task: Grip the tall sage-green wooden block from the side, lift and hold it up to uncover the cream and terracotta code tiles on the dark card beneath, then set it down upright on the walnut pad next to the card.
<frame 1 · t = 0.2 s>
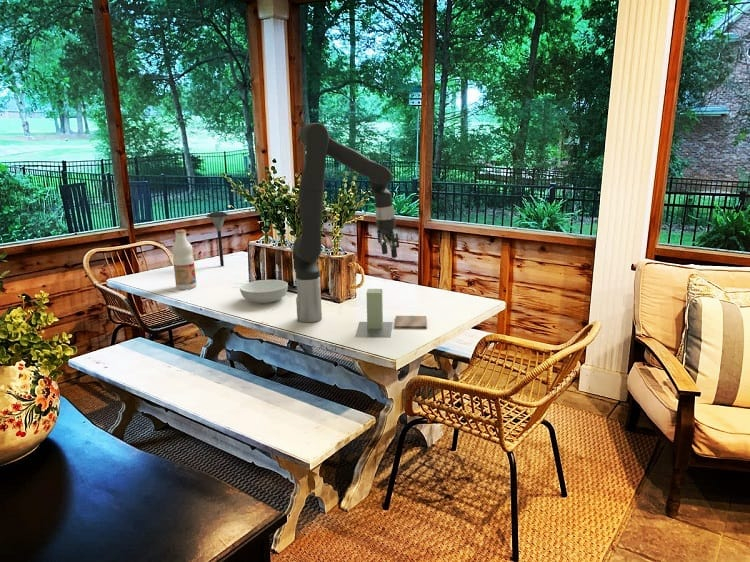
hand: (389, 255, 234), 22 cm above the table, tool pointing down, fingers open, 8 cm apart
fruit juice: (186, 287, 274), on the table
serving bowl: (265, 300, 252), on the table
walnut pad: (410, 323, 219), on the table
sage block: (375, 326, 216), resting on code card
solar garden light: (222, 266, 315), on the table
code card: (374, 329, 213), on the table
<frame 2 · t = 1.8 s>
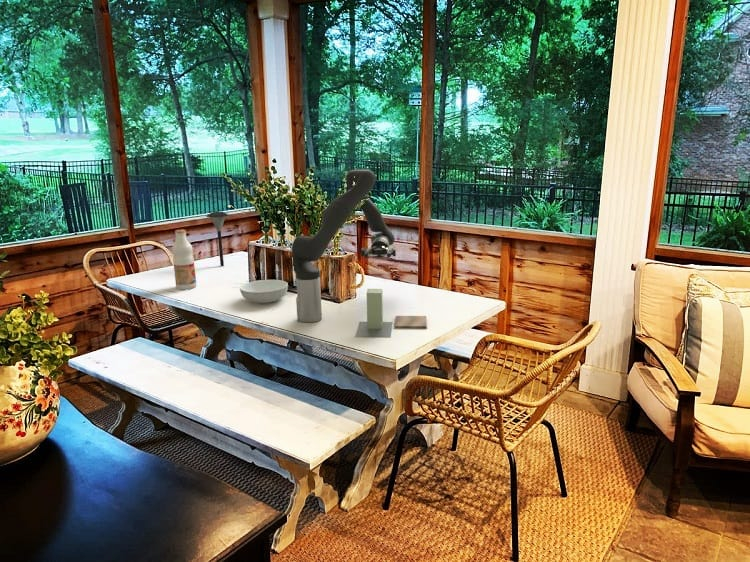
hand: (377, 255, 227), 24 cm above the table, tool horizontal, fingers open, 8 cm apart
nothing on the table moved.
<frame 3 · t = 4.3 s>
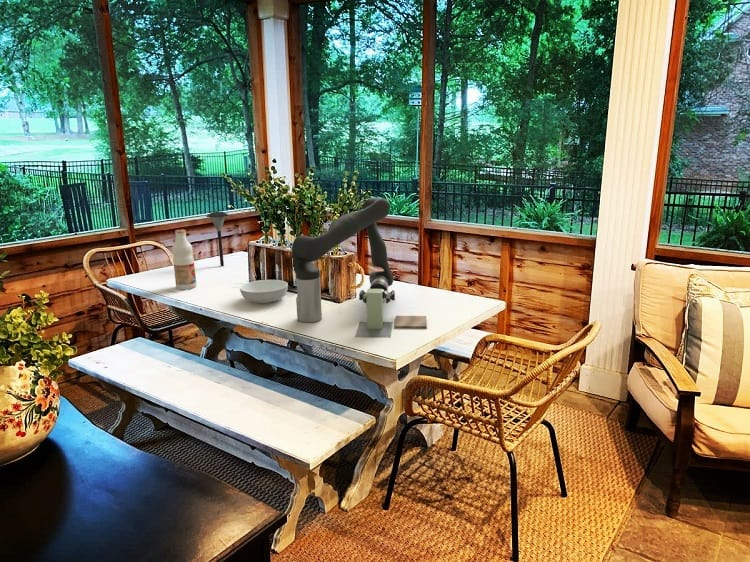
hand: (376, 300, 221), 8 cm above the table, tool horizontal, fingers open, 8 cm apart
nothing on the table moved.
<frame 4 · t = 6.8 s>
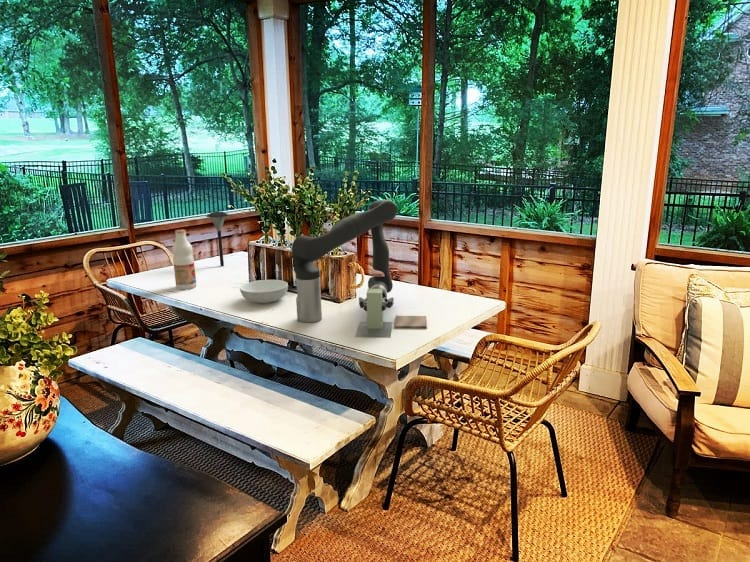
hand: (374, 308, 211), 8 cm above the table, tool horizontal, fingers closed on sage block, 5 cm apart
sage block: (375, 326, 216), resting on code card, touching gripper
everything else where it was.
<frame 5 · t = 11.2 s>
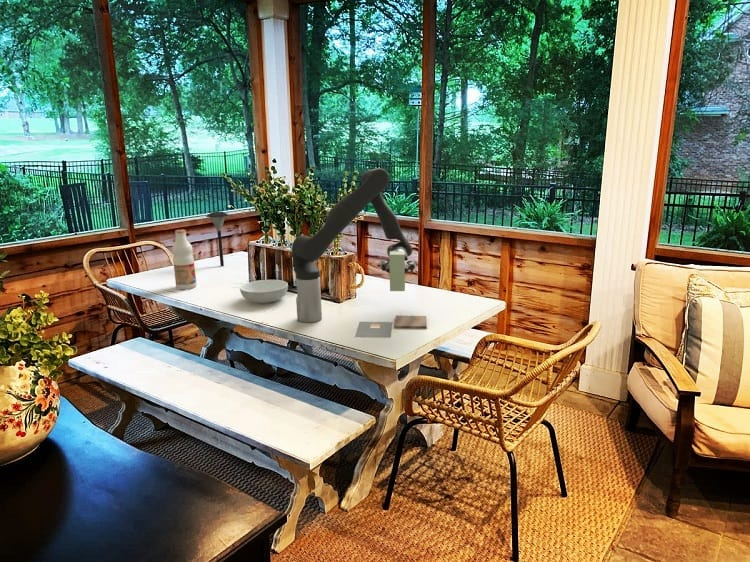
hand: (397, 270, 210), 22 cm above the table, tool horizontal, fingers closed on sage block, 5 cm apart
sage block: (397, 289, 214), point 14 cm above the table, touching gripper
everything else where it was.
when the fingers open (10 cm above the table, at t = 15.4 s): sage block drops 1 cm, resting on walnut pad.
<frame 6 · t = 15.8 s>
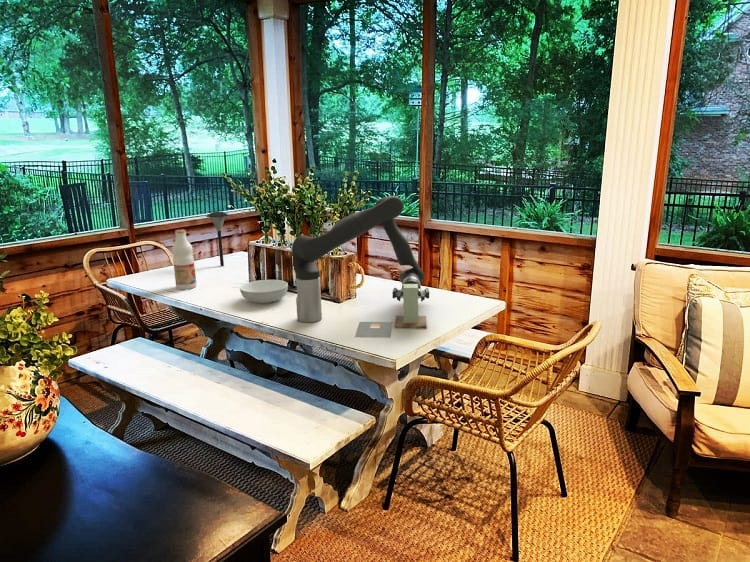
hand: (410, 298, 214), 11 cm above the table, tool horizontal, fingers open, 8 cm apart
sage block: (410, 320, 218), point 1 cm above the table, touching walnut pad
everything else where it was.
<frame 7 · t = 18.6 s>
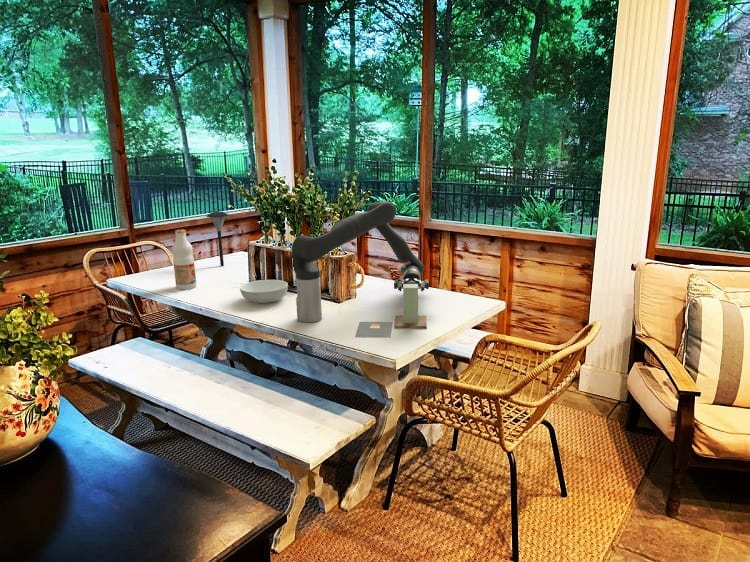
hand: (411, 289, 227), 11 cm above the table, tool horizontal, fingers open, 8 cm apart
nothing on the table moved.
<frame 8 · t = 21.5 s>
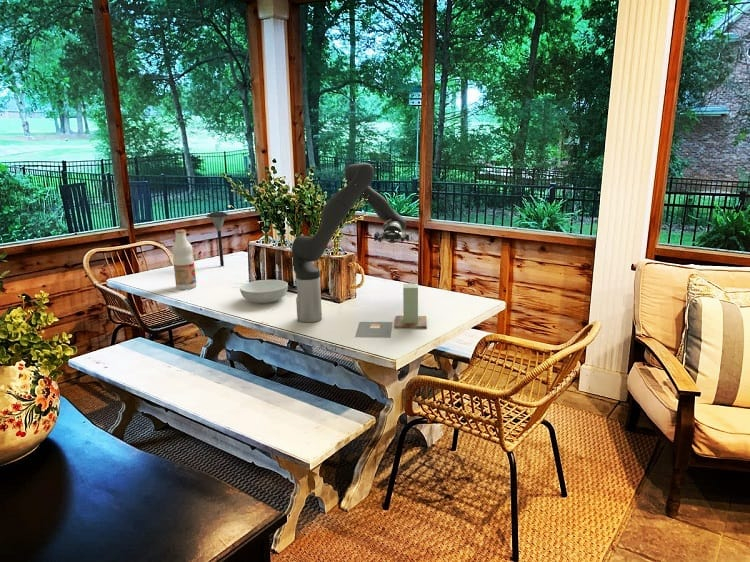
hand: (391, 239, 225), 30 cm above the table, tool horizontal, fingers open, 8 cm apart
nothing on the table moved.
at the end: sage block inside the target area on the walnut pad (0.0 cm from its centre), point 1.0 cm above the walnut pad's base; sage block tilted 0°; the gripper is holding nothing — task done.
